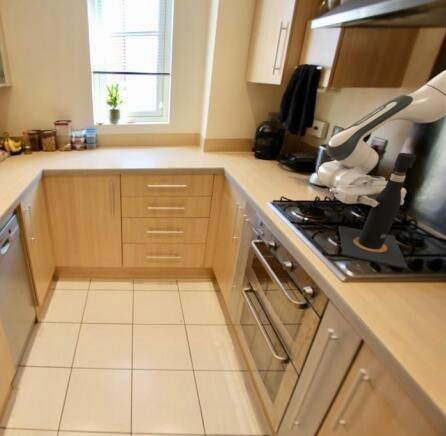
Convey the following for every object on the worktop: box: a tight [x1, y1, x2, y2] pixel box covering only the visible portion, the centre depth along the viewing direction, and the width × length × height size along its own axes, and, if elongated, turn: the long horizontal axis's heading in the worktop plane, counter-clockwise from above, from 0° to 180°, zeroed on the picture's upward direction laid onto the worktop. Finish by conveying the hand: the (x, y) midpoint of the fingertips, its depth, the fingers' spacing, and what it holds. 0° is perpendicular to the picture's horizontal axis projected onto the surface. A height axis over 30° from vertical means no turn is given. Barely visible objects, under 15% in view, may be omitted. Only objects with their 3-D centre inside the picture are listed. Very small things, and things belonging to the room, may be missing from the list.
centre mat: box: [338, 225, 409, 270], centre depth 103 cm, size 16×20×1 cm
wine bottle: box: [358, 152, 417, 249], centre depth 96 cm, size 6×6×30 cm
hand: (389, 203), depth 95 cm, fingers closed on wine bottle, 6 cm apart
